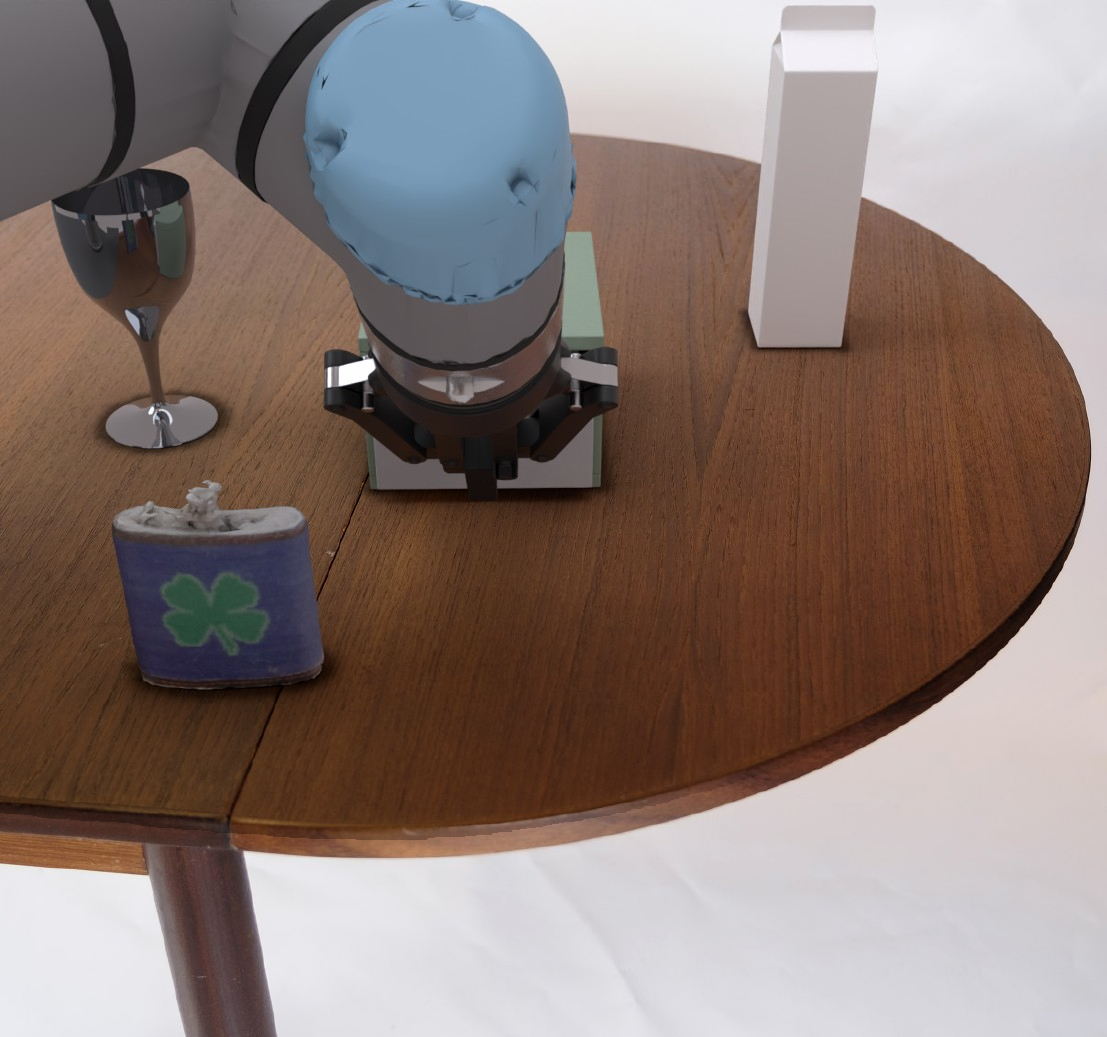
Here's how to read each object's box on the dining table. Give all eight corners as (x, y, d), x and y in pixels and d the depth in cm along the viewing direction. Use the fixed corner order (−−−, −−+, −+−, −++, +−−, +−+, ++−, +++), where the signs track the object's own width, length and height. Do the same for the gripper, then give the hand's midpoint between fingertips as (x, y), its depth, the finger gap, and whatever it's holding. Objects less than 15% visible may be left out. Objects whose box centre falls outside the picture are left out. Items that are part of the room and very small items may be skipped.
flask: (327, 653, 73) (305, 469, 67) (321, 689, 71) (297, 503, 65) (145, 655, 73) (105, 471, 67) (133, 691, 71) (90, 504, 64)
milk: (747, 314, 107) (774, -7, 93) (829, 313, 107) (867, -8, 94) (757, 349, 102) (787, 16, 89) (843, 348, 102) (886, 15, 89)
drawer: (595, 527, 81) (598, 400, 77) (372, 529, 81) (360, 402, 76) (582, 375, 96) (584, 262, 92) (393, 377, 96) (385, 263, 91)
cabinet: (600, 487, 87) (604, 335, 81) (370, 489, 86) (357, 337, 80) (588, 369, 99) (591, 230, 93) (387, 371, 99) (377, 232, 93)
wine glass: (142, 385, 97) (100, 161, 88) (247, 403, 95) (215, 176, 86) (73, 439, 91) (21, 205, 82) (183, 460, 89) (142, 223, 80)
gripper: (288, 412, 54) (361, 545, 77) (638, 410, 54) (605, 543, 77) (291, 221, 55) (362, 410, 78) (634, 220, 55) (602, 408, 78)
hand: (483, 476), depth 78 cm, fingers closed
